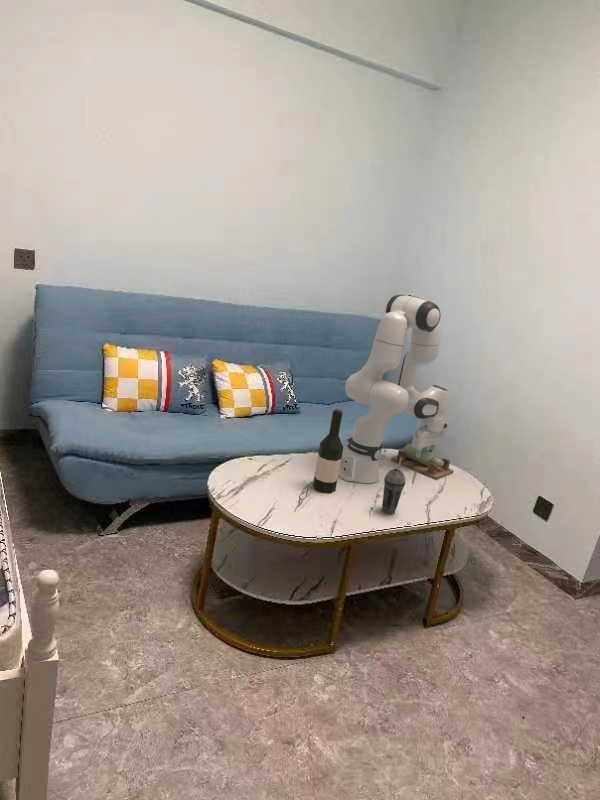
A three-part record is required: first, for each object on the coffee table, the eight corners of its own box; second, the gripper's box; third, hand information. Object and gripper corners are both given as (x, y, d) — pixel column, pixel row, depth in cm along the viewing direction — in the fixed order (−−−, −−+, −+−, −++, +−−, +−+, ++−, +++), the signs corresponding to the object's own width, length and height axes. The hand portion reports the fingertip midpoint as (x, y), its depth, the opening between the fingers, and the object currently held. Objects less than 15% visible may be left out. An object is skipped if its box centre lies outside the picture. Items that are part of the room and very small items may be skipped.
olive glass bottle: (401, 453, 261) (436, 468, 251) (408, 441, 262) (443, 455, 252) (406, 458, 266) (441, 473, 256) (412, 446, 267) (447, 460, 257)
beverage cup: (374, 510, 212) (385, 456, 207) (383, 504, 218) (394, 451, 213) (392, 518, 209) (404, 464, 203) (402, 512, 215) (414, 458, 209)
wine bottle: (333, 495, 219) (348, 415, 211) (310, 490, 220) (324, 410, 212) (337, 486, 227) (351, 408, 219) (314, 481, 228) (328, 404, 220)
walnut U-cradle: (390, 460, 261) (393, 449, 260) (408, 454, 272) (410, 443, 270) (436, 480, 248) (439, 468, 246) (453, 473, 258) (455, 461, 257)
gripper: (425, 430, 244) (417, 462, 248) (450, 423, 260) (442, 454, 263) (411, 425, 248) (404, 457, 252) (437, 418, 263) (430, 448, 267)
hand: (424, 455), depth 258 cm, fingers open, 8 cm apart
